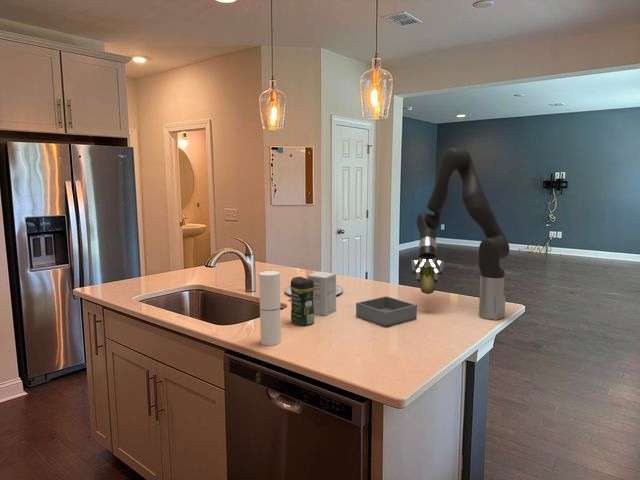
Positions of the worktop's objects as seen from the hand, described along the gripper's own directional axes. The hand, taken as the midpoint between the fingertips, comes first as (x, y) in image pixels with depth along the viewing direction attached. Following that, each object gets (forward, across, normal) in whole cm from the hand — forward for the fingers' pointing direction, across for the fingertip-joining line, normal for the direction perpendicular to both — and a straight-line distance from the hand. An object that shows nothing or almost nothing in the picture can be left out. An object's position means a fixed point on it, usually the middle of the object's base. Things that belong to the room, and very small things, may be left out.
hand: (427, 281), depth 188 cm
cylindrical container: (+43, -54, -23) cm, 72 cm away
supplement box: (+15, -44, +5) cm, 47 cm away
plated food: (-8, -56, +28) cm, 63 cm away
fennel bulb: (+3, 0, +5) cm, 6 cm away
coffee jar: (+26, -48, -7) cm, 56 cm away
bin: (+17, -16, +3) cm, 24 cm away
